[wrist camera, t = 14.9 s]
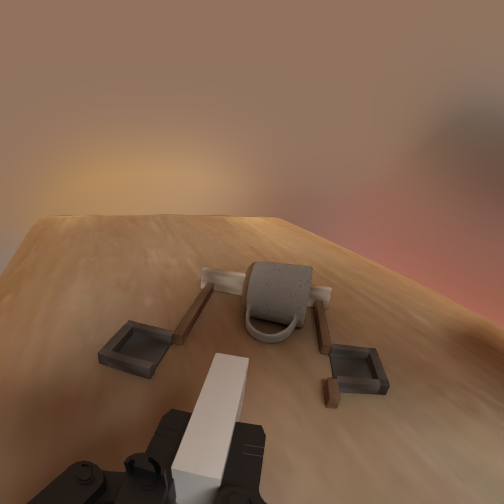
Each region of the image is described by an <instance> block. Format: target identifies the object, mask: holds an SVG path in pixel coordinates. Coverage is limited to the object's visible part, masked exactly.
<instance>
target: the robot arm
mask: <svg viewBox="0 0 504 504" xmlns="http://www.w3.org/2000/svg"><path fill="white" fill-rule="evenodd" d="M248 363H249V358H245V357H239V356H233V355H227V354H222V353H216V354H215V357H214V359H213V362H212V364H211V367H210V370H209V372H208V375H207V377H206V380H205V382H204V385H203V388H202V390H201V393H200V395H199V398H198V400H197V403H196V406H195V408H194V411H193V413H188V412H184V411H179V410H175V409H171V410H170V411H169V412H167V413H166V414H165V415H164V416H163V417H162V419H161V421H160V423H159V425H158V427H157V429H156V432H155V435H154V436H153V438H152V440H151V442H150V444H149V446H148V448H147V450H146V452H145V453H137V454H133V455H131V456H129V457H128V458H127V459H126V460H125V461H124V465H125V468H126V472H111V471H102V470H101V469H100V468H99V467H98V466H97V465H96V464H94V463H92V462H88V461H80V462H76V463H74V464H72V465H71V466H70V467H68V468H67V469H66V470H65V471H64V472H63V473H62V474H60V475H59V476H58V477H57V478H56V479H55V480H54V481H53V482H51V483H50V484H49V485H48V486H47V487H46V488H45V489H43V490H42V491H41V492H40V493H39V494H38V495H36V496H35V497H34V498H33V499H32V500H31V501H29V502H28V503H27V504H174V502H175V500H176V503H177V504H267V503H266V502H264V501H263V499H262V498H261V496H260V493H259V484H260V476H261V469H262V461H263V454H264V446H265V438H266V435H265V433H264V430H263V428H262V426H261V425H254V424H247V423H241V422H239V417H240V413H241V408H242V404H243V398H244V391H245V384H246V377H247V370H248Z"/></svg>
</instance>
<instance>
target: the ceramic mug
mask: <svg viewBox="0 0 504 504" xmlns="http://www.w3.org/2000/svg"><path fill="white" fill-rule="evenodd" d="M312 271H313V268H312V267H310V266H300V265H291V264H281V263H273V262H255V263H252V264H251V265H250V266H249V268H248V270H247V273H246V276H245V280H244V284H243V291H242V309H243V311H244V312H245V314H246V328H247V331H248V332H249V334H250V335H251V336H252V337H254V338H255V339H257V340H259V341H262V342H266V343H277V342H280V341H283V340H285V339H286V338H287V337H288V336H289V335H290V334H291V333H292V332H293V330H294V328H295V327H301V328H302V327H303V325H304V319H305V315H306V309H307V304H308V297H309V292H310V285H311V278H312ZM250 316H252V317H255V318H259V319H263V320H269V321H273V322H277V323H281V324H286V325H289V326H288V327H287V328H286V329H285V330H283V331H281V332H278V333H275V334H271V335H270V334H265V333H262V332H260V331H258V330H256V329H255V328H254V327H253V326H252V325H251V323H250V320H249V319H250Z"/></svg>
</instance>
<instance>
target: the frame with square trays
mask: <svg viewBox="0 0 504 504" xmlns="http://www.w3.org/2000/svg"><path fill="white" fill-rule="evenodd" d="M245 276H246V274H243V273H237V272H231V271H226V270H220V269H214V268H208V267H204V268H203V269H202V275H201V288H202V289H203V290H202V291H201V292H200V294H199V295H198V297H197V298H196V300H195V301H194V303H193V304H192V306H191V307H190V309H189V310H188V312H187V313H186V315H185V316H184V318H183V319H182V321H181V322H180V324H179V325H178V327H177V328H176V330H175V331H170V330H166V329H162V328H157V327H153V326H149V325H145V324H141V323H137V322H133V321H130V320H128V322H127V323H126V324H125V325H124V326H123V327H122V328H121V329H120V330H119V331H118V332H117V333H116V334H115V335H114V336H113V337H112V338H111V339H110V340H109V342H108V343H107V344H106V345H105V346H104V347H103V348H102V349H101V350H100V351H99V352H98V359H99V363H101V364H104V365H107V366H110V367H113V368H116V369H119V370H122V371H125V372H128V373H132V374H135V375H138V376H142V377H145V378H148V379H151V377H152V375H153V374H154V370H155V369H156V367H157V366H158V364H159V362H160V361H161V359H162V358H163V356H164V354H165V353H166V351H167V350H168V348H169V347H170V345H172V343H175V344H179V345H182V343H183V342H184V340H185V338H186V337H187V335H188V333H189V331H190V330H191V328H192V326H193V325H194V323H195V321H196V319H197V318H198V316H199V314H200V313H201V311H202V309H203V308H204V306H205V304H206V302H207V301H208V299H209V297H210V296H211V294H212V292H213V291H218V292H224V293H230V294H235V295H241V296H242V291H243V284H244V280H245ZM331 292H332V289H331V287H325V286H318V285H312V284H311V285H310V292H309V297H308V304H307V306H310V307H314V309H315V316H316V323H317V331H318V339H319V347H320V354H328V355H329V357H330V360H331V366H332V372H333V378H327V380H326V383H325V386H324V391H325V400H326V408H337V407H338V404H339V402H340V393H339V392H349V393H363V394H381V395H386V393H387V391H388V389H389V387H390V385H389V382H388V379H387V377H386V374H385V371H384V369H383V366H382V364H381V361H380V358H379V356H378V353H377V351H376V349H375V348H365V347H356V346H347V345H338V344H331V341H330V336H329V330H328V325H327V320H326V315H325V310H324V309H328V305H329V301H330V297H331Z"/></svg>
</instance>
